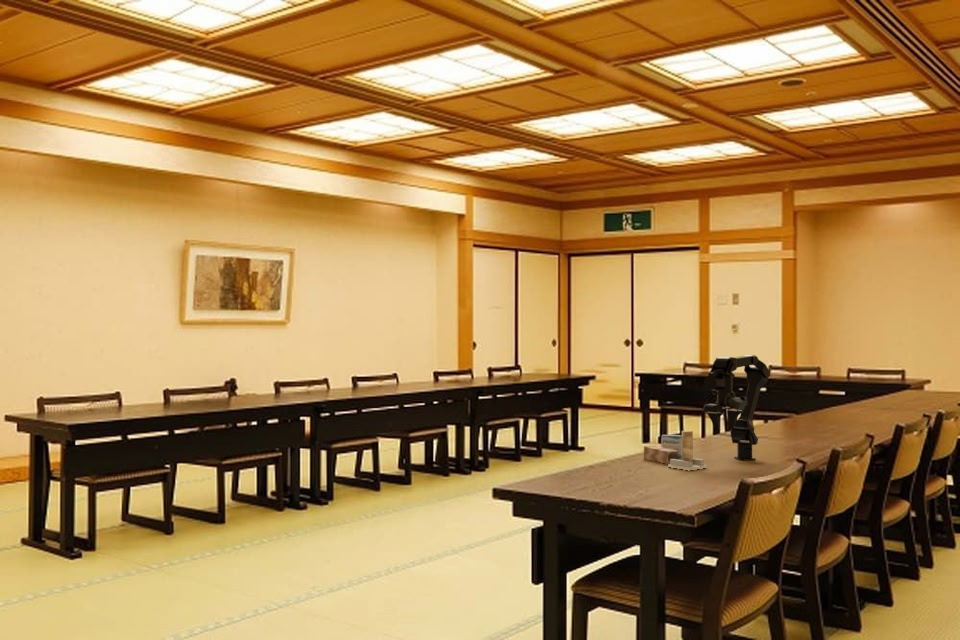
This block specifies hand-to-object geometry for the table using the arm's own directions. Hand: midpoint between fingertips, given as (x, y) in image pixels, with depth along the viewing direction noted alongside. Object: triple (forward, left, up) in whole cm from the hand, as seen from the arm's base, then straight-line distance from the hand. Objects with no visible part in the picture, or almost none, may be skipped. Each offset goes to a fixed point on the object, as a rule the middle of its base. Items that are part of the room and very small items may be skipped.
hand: (724, 429), depth 348 cm
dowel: (+9, -19, -12) cm, 24 cm away
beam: (-8, -23, -13) cm, 28 cm away
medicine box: (-20, -14, -13) cm, 28 cm away
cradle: (+9, -19, -13) cm, 25 cm away
